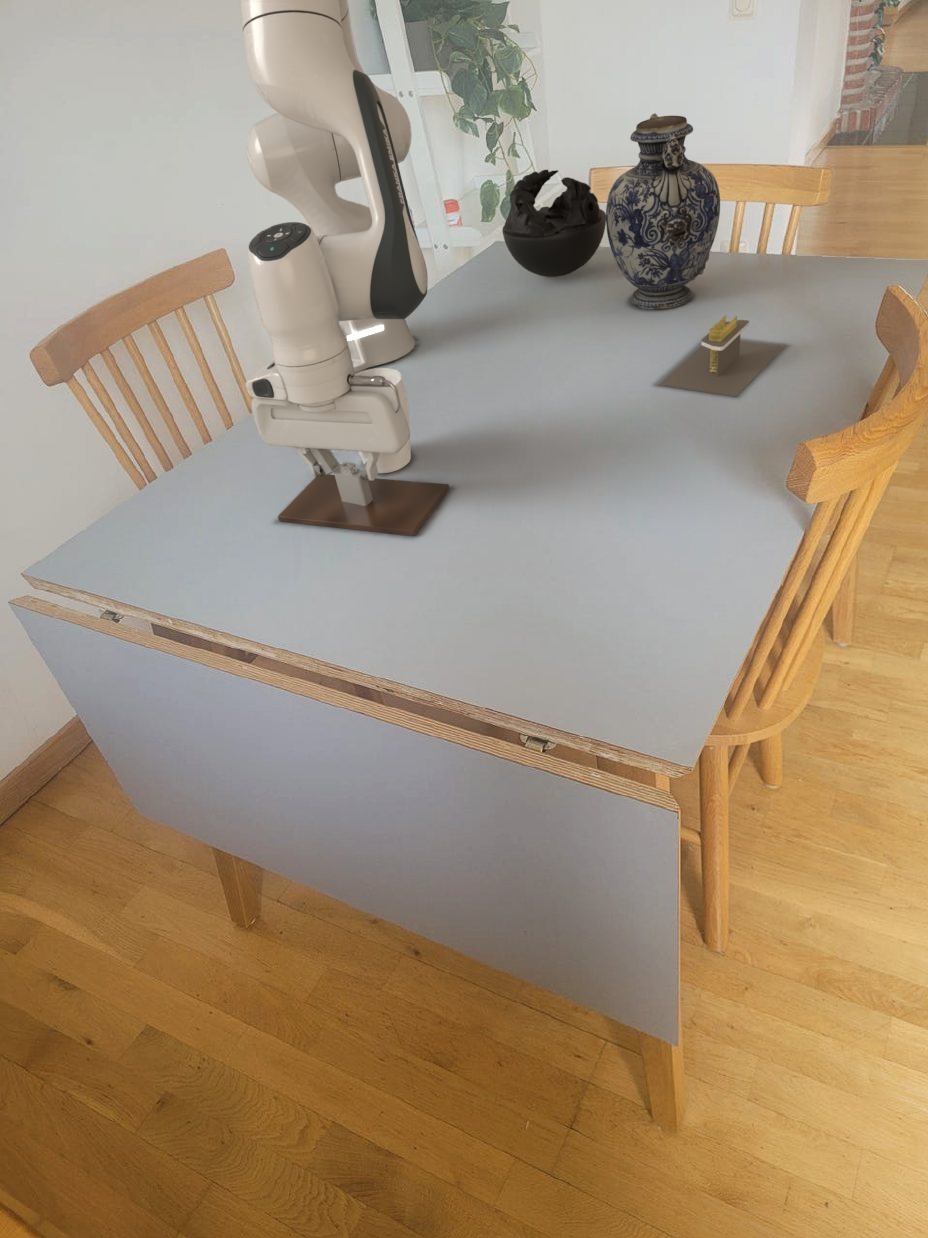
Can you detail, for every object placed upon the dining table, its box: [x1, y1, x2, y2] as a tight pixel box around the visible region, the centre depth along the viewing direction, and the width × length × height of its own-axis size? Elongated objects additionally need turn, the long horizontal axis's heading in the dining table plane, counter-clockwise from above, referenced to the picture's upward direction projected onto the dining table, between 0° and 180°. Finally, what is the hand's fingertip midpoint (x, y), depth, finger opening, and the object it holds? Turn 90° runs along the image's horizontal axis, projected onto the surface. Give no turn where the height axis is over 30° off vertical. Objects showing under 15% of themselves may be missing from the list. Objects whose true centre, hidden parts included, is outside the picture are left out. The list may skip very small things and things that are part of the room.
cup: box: [355, 367, 412, 474], centre depth 116 cm, size 9×9×12 cm
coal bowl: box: [501, 169, 606, 278], centre depth 164 cm, size 20×20×19 cm
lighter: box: [309, 448, 373, 506], centre depth 109 cm, size 7×2×8 cm, turn 59°
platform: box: [658, 315, 785, 397], centre depth 125 cm, size 12×18×7 cm, turn 143°
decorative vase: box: [605, 112, 721, 311], centre depth 142 cm, size 21×19×28 cm
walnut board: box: [277, 474, 450, 537], centre depth 111 cm, size 20×11×1 cm, turn 67°
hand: (345, 476), depth 109 cm, fingers closed on lighter, 6 cm apart
